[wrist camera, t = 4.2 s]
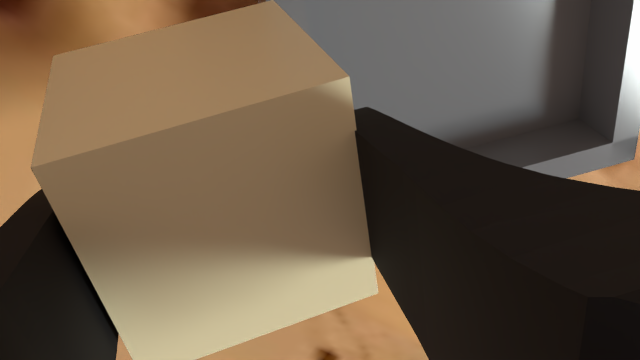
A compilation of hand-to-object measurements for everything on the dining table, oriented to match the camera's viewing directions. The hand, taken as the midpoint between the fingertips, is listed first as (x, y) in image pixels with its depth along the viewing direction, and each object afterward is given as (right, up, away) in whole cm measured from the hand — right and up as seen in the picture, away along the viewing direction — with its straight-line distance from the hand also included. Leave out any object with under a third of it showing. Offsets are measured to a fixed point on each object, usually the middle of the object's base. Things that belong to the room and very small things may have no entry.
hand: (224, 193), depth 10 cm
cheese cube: (-1, +1, +2) cm, 3 cm away
